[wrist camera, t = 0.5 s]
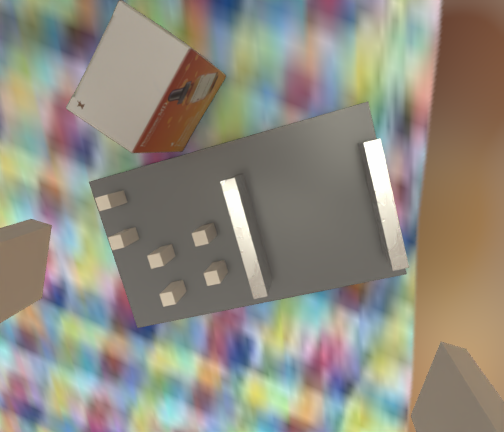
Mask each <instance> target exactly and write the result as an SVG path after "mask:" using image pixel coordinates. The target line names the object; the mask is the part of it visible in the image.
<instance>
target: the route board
mask: <svg viewBox="0 0 504 432" xmlns="http://www.w3.org/2000/svg"><path fill="white" fill-rule="evenodd" d="M370 139H376V135H375V131H374V126H373V122H372V117H371V113H370V108H369V104H368V102H365V103H361V104H358V105H354V106H351V107H348V108H344V109H341V110H337V111H334V112H330V113H327V114H323V115H320V116H316V117H313V118H309V119H306V120H302V121H299V122H296V123H292V124H289V125H285V126H282V127H278V128H275V129H271V130H268V131H264V132H261V133H257V134H254V135H250V136H247V137H244V138H240V139H237V140H233V141H230V142H226V143H223V144H219V145H216V146H212V147H209V148H205V149H202V150H198V151H195V152H192V153H188V154H185V155H181V156H178V157H174V158H171V159H167V160H164V161H160V162H157V163H153V164H150V165H146V166H143V167H140V168H136V169H133V170H129V171H126V172H122V173H119V174H115V175H112V176H108V177H105V178H101V179H98V180H94V181H91V182H89V184H90V187H91V190H92V193H93V196H94V199H95V202H96V205H97V208H98V211H99V214H100V217H101V220H102V223H103V226H104V229H105V232H106V235H107V238H108V241H109V244H110V247H111V250H112V253H113V256H114V259H115V262H116V265H117V267H118V270H119V273H120V276H121V279H122V282H123V285H124V288H125V291H126V294H127V297H128V300H129V303H130V306H131V309H132V312H133V315H134V318H135V321H136V324H137V327H138V328H139V327H144V326H149V325H154V324H159V323H164V322H169V321H174V320H179V319H184V318H189V317H194V316H199V315H204V314H209V313H214V312H219V311H224V310H229V309H234V308H239V307H244V306H249V305H254V304H259V303H264V302H269V301H274V300H279V299H284V298H289V297H294V296H299V295H304V294H309V293H314V292H319V291H324V290H329V289H334V288H339V287H344V286H349V285H354V284H359V283H364V282H369V281H374V280H379V279H384V278H389V277H394V276H399V275H404V274H406V269H400V270H395V271H393V270H392V269H391V267H390V265H389V264H388V262H387V260H386V259H385V257H384V254H383V250H382V246H381V241H380V237H379V233H378V228H377V224H376V220H375V215H374V211H373V207H372V202H371V198H370V194H369V189H368V185H367V181H366V176H365V172H364V168H363V163H362V159H361V155H360V150H359V146H358V143H359V142H363V141H366V140H370ZM240 174H244V177H245V181H246V184H247V188H248V191H249V195H250V199H251V202H252V206H253V210H254V213H255V217H256V220H257V224H258V228H259V231H260V235H261V239H262V242H263V246H264V250H265V253H266V257H267V260H268V264H269V268H270V271H271V275H272V279H273V280H272V284H271V287H270V290H269V294H268V296H266V297H261V298H257V299H254V298H253V295H252V291H251V288H250V284H249V281H248V277H247V274H246V270H245V267H244V263H243V260H242V256H241V253H240V249H239V246H238V242H237V239H236V235H235V232H234V228H233V224H232V221H231V217H230V214H229V210H228V207H227V203H226V200H225V196H224V193H223V189H222V186H221V181H223V180H225V179H227V178H230V177H233V176H237V175H240Z"/></svg>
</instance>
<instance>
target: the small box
mask: <svg viewBox="0 0 504 432" xmlns="http://www.w3.org/2000/svg"><path fill="white" fill-rule="evenodd" d="M225 77H226V75H225V74H224V73H223V72H222V71H220V70H219V69H218V68H217V67H215V66H214V65H213V64H212V63H210V62H209V61H208V60H207V59H206V58H204V57H203V56H201V55H200V54H199V53H197V52H196V51H195V50H194V49H192V48H191V47H190V46H188V45H187V44H185V43H184V42H183V41H181V40H180V39H179V38H177V37H176V36H174V35H173V34H171V33H170V32H168V31H167V30H165V29H164V28H162V27H161V26H159V25H158V24H157V23H155V22H154V21H152V20H151V19H149V18H148V17H146V16H145V15H143V14H142V13H140V12H139V11H137V10H136V9H134V8H133V7H131V6H130V5H128V4H127V3H125V2H124V1H121V0H120V1H118V3H117V6H116V8H115V10H114V13H113V15H112V18H111V20H110V22H109V24H108V26H107V28H106V30H105V32H104V34H103V37H102V39H101V41H100V43H99V45H98V47H97V49H96V51H95V53H94V55H93V57H92V59H91V61H90V63H89V65H88V67H87V69H86V71H85V73H84V75H83V77H82V79H81V81H80V83H79V85H78V87H77V89H76V91H75V92H74V94H73V96H72V97H71V99H70V101H69V103H68V104H67V106H66V109H67V110H69V111H70V112H72V113H73V114H75V115H76V116H78V117H79V118H81V119H82V120H84V121H85V122H87V123H88V124H90V125H91V126H93V127H94V128H96V129H97V130H99V131H100V132H102V133H103V134H105V135H106V136H107V137H109V138H110V139H112V140H113V141H115V142H116V143H118V144H119V145H121V146H122V147H124V148H125V149H127V150H128V151H130V152H131V153H153V152H181V151H183V150H184V148H185V146H186V144H187V142H188V140H189V138H190V137H191V135H192V133H193V131H194V130H195V128H196V126H197V124H198V123H199V121H200V119H201V118H202V116H203V114H204V113H205V111H206V109H207V108H208V106H209V104H210V103H211V101H212V99H213V98H214V96H215V94H216V93H217V91H218V89H219V88H220V86H221V84H222V83H223V81H224V79H225Z"/></svg>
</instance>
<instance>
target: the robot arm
mask: <svg viewBox="0 0 504 432" xmlns="http://www.w3.org/2000/svg"><path fill="white" fill-rule="evenodd" d="M51 226H52V225H49V224H46V223H43V222H39V221H36V220H33V219H30V220H26V221H23V222H20V223H16V224H13V225H9V226H6V227H3V228H0V323H1V322H3V321H4V320H6V319H8V318H9V317H11V316H13V315H14V314H16V313H18V312H19V311H21V310H23V309H24V308H26V307H28V306H29V305H31V304H33V303H34V302H36V301H38V300H39V299H41V298H42V293H43V286H44V279H45V271H46V264H47V256H48V249H49V241H50V234H51ZM411 418H412V421H413V424H414V426H415V429H416V432H504V401H503V400H502V399H501V397H500V396H499V394H498V393H497V391H496V390H495V389H494V387H493V386H492V384H491V383H490V382H489V380H488V379H487V378H486V376H485V375H484V373H483V372H482V371H481V369H480V368H479V366H478V365H477V364H476V362H475V361H474V360H473V358H472V357H471V355H470V354H469V353H468V351H467V350H466V349H464V348H461V347H457V346H454V345H451V344H447V343H444V342H441V343H440V345H439V348H438V350H437V352H436V355H435V358H434V360H433V363H432V365H431V367H430V370H429V372H428V375H427V377H426V379H425V382H424V384H423V387H422V389H421V392H420V394H419V397H418V400H417V402H416V404H415V407H414V409H413V411H412V414H411Z"/></svg>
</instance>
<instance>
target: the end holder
mask: <svg viewBox="0 0 504 432" xmlns="http://www.w3.org/2000/svg"><path fill="white" fill-rule="evenodd" d="M358 146H359V150H360V155H361V159H362V163H363V168H364V172H365V176H366V181H367V185H368V189H369V194H370V198H371V202H372V207H373V211H374V215H375V220H376V224H377V228H378V233H379V237H380V241H381V246H382V250H383V254H384V257H385V259H386V260H387V262H388V264H389V265H390V267H391V269H392V270H393V271H395V270H400V269H405V268H409V265H408V261H407V256H406V252H405V247H404V243H403V238H402V234H401V229H400V225H399V220H398V216H397V211H396V207H395V202H394V198H393V193H392V189H391V184H390V180H389V175H388V171H387V166H386V162H385V157H384V153H383V148H382V144H381V139H370V140H366V141H363V142H359V143H358ZM221 186H222V189H223V193H224V196H225V200H226V203H227V207H228V210H229V214H230V217H231V221H232V224H233V228H234V232H235V235H236V239H237V242H238V246H239V249H240V253H241V256H242V260H243V263H244V267H245V270H246V274H247V277H248V281H249V284H250V288H251V291H252V295H253V298H254V299H257V298H261V297H266V296H268V294H269V290H270V287H271V284H272V280H273V279H272V275H271V271H270V268H269V264H268V260H267V257H266V253H265V250H264V246H263V242H262V239H261V235H260V231H259V228H258V224H257V220H256V217H255V213H254V210H253V206H252V202H251V199H250V195H249V191H248V188H247V184H246V181H245V177H244V174H240V175H237V176H233V177H230V178H227V179H225V180H223V181H221Z"/></svg>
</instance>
